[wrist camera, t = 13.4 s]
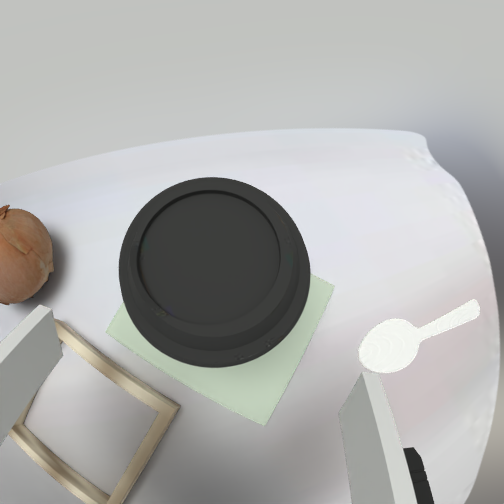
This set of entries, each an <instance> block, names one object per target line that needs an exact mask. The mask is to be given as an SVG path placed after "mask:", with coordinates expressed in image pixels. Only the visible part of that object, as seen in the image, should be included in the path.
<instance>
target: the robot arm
mask: <svg viewBox="0 0 504 504" xmlns="http://www.w3.org/2000/svg"><path fill="white" fill-rule="evenodd" d="M62 356H63V353H62V349H61V345H60V342H59V338H58V334H57V330H56V326H55V321H54V317H53V312H52V309H51V308H48V307H45V306H42V305H40V304H39V305H38V306H37V307H36V308H35V309H34V310H33V311H32V312H31V313H30V314H29V315H28V316H27V317H26V318H25V319H24V320H23V321H22V322H21V323H20V324H19V325H18V326H17V327H16V328H15V329H14V330H13V331H12V332H11V333H10V334H9V335H8V336H7V337H6V338H5V339H4V340H3V341H2V342H1V343H0V446H1V444H2V443H3V441H4V439H5V438H6V436H7V435H8V433H9V431H10V430H11V428H12V427H13V425H14V424H15V422H16V421H17V419H18V418H19V416H20V415H21V413H22V412H23V410H24V409H25V407H26V406H27V404H28V403H29V402H30V400H31V399H32V397H33V396H34V394H35V393H36V392H37V390H38V389H39V387H40V386H41V385H42V383H43V382H44V380H45V379H46V378H47V376H48V375H49V374H50V372H51V371H52V370H53V368H54V367H55V366H56V364H57V363H58V362H59V360H60V359H61V358H62ZM339 418H340V424H341V430H342V436H343V443H344V449H345V456H346V462H347V469H348V476H349V484H350V491H351V499H352V504H434V501H433V497H432V493H431V489H430V486H429V482H428V480H427V475H426V472H425V471H424V465H423V462H422V459H421V457H420V455H419V454H418V453H417V451H416V450H415V449H414V447H412V448H403V447H402V444H401V441H400V437H399V434H398V431H397V427H396V424H395V421H394V418H393V415H392V412H391V409H390V405H389V402H388V399H387V396H386V393H385V390H384V388H383V385H382V382H381V379H380V376H379V373H369V372H362V373H361V375H360V377H359V379H358V380H357V382H356V384H355V386H354V388H353V389H352V391H351V393H350V395H349V396H348V398H347V400H346V402H345V403H344V405H343V407H342V408H341V410H340V412H339Z"/></svg>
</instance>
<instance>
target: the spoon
mask: <svg viewBox="0 0 504 504" xmlns="http://www.w3.org/2000/svg"><path fill="white" fill-rule="evenodd" d="M479 310H480V307H479V304H478V302H477V301H476V300H475V299H474V300H473V299H472V300H470V301H469V302H467V303H465V304H463V305H462V306H460V307H458V308H456V309H455V310H453V311H450V312H449V313H448V314H445V315H443V316H442V317H440V318H438V319H436V320H434V321H432V322H430V323H429V324H426V325H424V326H422V327H420V328H416V327H414V326H413V325H412V324H411V323H409V322H408V321H407V320H403V319H398V318H396V319H388V320H385V321H384V322H381V323H379V324H378V325H377V326H375V327H373V329H371V330H370V331H369V332H368V333H367V335H365V337H364V339H363V340H362V341H361V344H360V345H359V349H358V359H359V361H360V363H361V364H362V366H363V367H364V368H366V369H368V370H370V371H373V372H376V373H392V372H397V371H399V370H401V369H403V368H405V367H406V366H407V365H409V364H410V363H411V362H412V361H413V359H414V357H415V356H416V354H417V351H418V347H419V345H420V343H421V341H422V340H424V339H427V338H429V337H432V336H435V335H437V334H439V333H442V332H445V331H447V330H450V329H453V328H455V327H457V326H459V325H462V324H464V323H467V322H468V321H471V320H474V319H475V318H477V317H478V316H479V314H480V311H479Z"/></svg>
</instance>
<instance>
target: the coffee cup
mask: <svg viewBox="0 0 504 504" xmlns="http://www.w3.org/2000/svg"><path fill="white" fill-rule="evenodd" d="M119 281H120V287H121V292H122V297H123V301H124V304H125V307H126V310H127V312H128V315H129V317H130V319H131V320H132V322H133V324H134V325H135V327H136V328H137V330H138V331H139V332H140V334H141V335H142V336H143V337H144V338H145V339H146V340H147V341H148V342H149V343H150V344H151V345H152V346H153V347H155V348H156V349H157V350H159V351H160V352H162V353H163V354H165V355H167V356H169V357H170V358H172V359H175V360H177V361H179V362H182V363H185V364H189V365H192V366H198V367H205V368H223V367H231V366H236V365H240V364H244V363H247V362H249V361H252V360H254V359H257V358H259V357H261V356H262V355H264V354H266V353H267V352H269V351H270V350H272V349H273V348H274V347H276V346H277V345H278V344H279V343H280V342H282V341H283V340H284V339H285V338H286V336H287V335H288V334H289V333H290V332H291V331H292V329H293V328H294V326H295V325H296V323H297V322H298V320H299V318H300V316H301V314H302V312H303V310H304V308H305V305H306V302H307V298H308V294H309V289H310V262H309V257H308V253H307V250H306V247H305V244H304V241H303V238H302V236H301V234H300V232H299V230H298V228H297V226H296V224H295V223H294V221H293V220H292V218H291V217H290V216H289V214H288V213H287V212H286V211H285V210H284V209H283V207H282V206H281V205H280V204H278V203H277V202H276V201H275V200H274V199H273V198H271V197H270V196H269V195H267V194H266V193H264V192H263V191H261V190H259V189H257V188H255V187H253V186H251V185H249V184H246V183H243V182H240V181H236V180H232V179H227V178H217V177H207V178H197V179H192V180H188V181H184V182H181V183H178V184H176V185H174V186H171V187H169V188H167V189H166V190H164V191H162V192H161V193H159V194H158V195H156V196H155V197H154V198H152V199H151V200H150V201H149V202H148V203H147V204H146V205H145V206H144V207H143V208H142V209H141V210H140V211H139V213H138V214H137V215H136V217H135V218H134V220H133V221H132V223H131V225H130V226H129V228H128V230H127V233H126V235H125V238H124V240H123V244H122V247H121V252H120V258H119Z"/></svg>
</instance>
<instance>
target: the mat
mask: <svg viewBox="0 0 504 504" xmlns="http://www.w3.org/2000/svg"><path fill="white" fill-rule="evenodd" d="M334 287H335V286H334V285H332V284H330V283H328V282H326V281H324V280H322V279H320V278H318V277H316V276H315V275H313V274H311V273H310V289H309V294H308V298H307V302H306V305H305V308H304V310H303V312H302V314H301V316H300V318H299V320H298V322H297V323H296V325H295V326H294V328H293V329H292V331H291V332H290V333H289V334H288V335H287V336H286V338H285V339H284V340H283V341H282V342H280V343H279V344H278V345H277V346H276V347H274V348H273V349H272V350H270V351H269V352H267V353H266V354H264V355H262V356H261V357H259V358H257V359H254V360H252V361H249V362H247V363H244V364H240V365H236V366H231V367H223V368H205V367H198V366H192V365H189V364H185V363H182V362H179V361H177V360H175V359H172V358H170V357H169V356H167V355H165V354H163V353H162V352H160V351H159V350H157V349H156V348H155V347H153V346H152V345H151V344H150V343H149V342H148V341H147V340H146V339H145V338H144V337H143V336H142V335H141V334H140V332H139V331H138V330H137V328H136V327H135V325H134V324H133V322H132V320H131V319H130V317H129V315H128V312H127V310H126V307H125V304H124V302H123V303H122V305H121V306H120V308H119V310H118V311H117V313H116V315H115V316H114V318H113V320H112V321H111V323H110V325H109V326H108V328H107V330H106V333H107V334H108V335H110V336H111V337H112V338H114V339H115V340H117V341H118V342H119V343H121V344H122V345H124V346H125V347H126V348H128V349H129V350H131V351H132V352H134V353H135V354H137V355H138V356H140V357H141V358H143V359H144V360H146V361H147V362H149V363H150V364H152V365H153V366H155V367H156V368H158V369H160V370H161V371H163V372H164V373H166V374H167V375H169V376H171V377H172V378H174V379H176V380H177V381H179V382H181V383H182V384H184V385H186V386H188V387H189V388H191V389H193V390H194V391H196V392H198V393H200V394H202V395H203V396H205V397H207V398H209V399H211V400H213V401H214V402H216V403H218V404H220V405H222V406H224V407H226V408H228V409H230V410H232V411H234V412H236V413H238V414H240V415H242V416H244V417H246V418H248V419H250V420H252V421H254V422H256V423H258V424H261V425H263V426H265V425H266V423H267V421H268V419H269V418H270V416H271V414H272V412H273V411H274V409H275V407H276V405H277V403H278V402H279V400H280V398H281V396H282V394H283V392H284V390H285V389H286V387H287V385H288V383H289V381H290V379H291V377H292V375H293V373H294V371H295V369H296V367H297V366H298V364H299V362H300V360H301V358H302V356H303V354H304V352H305V350H306V347H307V345H308V343H309V341H310V339H311V337H312V335H313V333H314V331H315V329H316V327H317V325H318V322H319V320H320V318H321V316H322V314H323V312H324V309H325V307H326V305H327V303H328V300H329V298H330V296H331V294H332V291H333V289H334Z"/></svg>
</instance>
